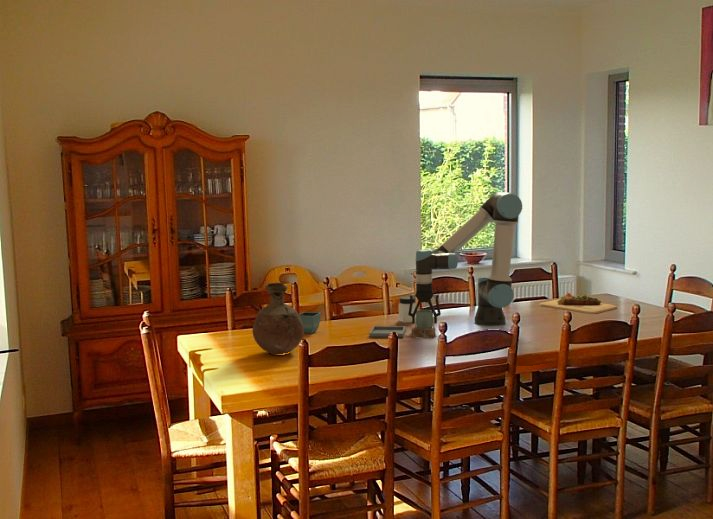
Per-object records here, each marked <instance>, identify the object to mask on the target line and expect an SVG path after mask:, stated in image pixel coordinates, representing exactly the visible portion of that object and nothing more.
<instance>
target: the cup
mask: <svg viewBox="0 0 713 519" xmlns="http://www.w3.org/2000/svg"><path fill="white" fill-rule="evenodd" d="M433 316H434V315H433V312H432V310H431V309H417V312H416V323H417V327H420V328H422V334H424V329H426V328H433Z"/></svg>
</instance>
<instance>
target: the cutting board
mask: <svg viewBox="0 0 713 519" xmlns="http://www.w3.org/2000/svg"><path fill="white" fill-rule="evenodd" d="M538 306H540V307H543V308H544V307H545V308H550V309H557V310H563V311H570V312H576V313H583V314H589V315H590V314H591V315H595V314H600V313H604V312H607V311H612V310H617V309H618V306H616V305H614V304H609V303H603V302H602V300H601V299H598V298H597V297H592V296H591V297H590V296H588V295H586V294H582V295H581V296H580V295H579V294H577V295H576V296H574V295H572V294H571V293H570V292H569V291H568V292H567V293H566V294H565V295H564V296H561V297H560V298H557V299H553V300H549V301H545V302H544V301H543V302H540V303H538Z"/></svg>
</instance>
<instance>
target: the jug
mask: <svg viewBox="0 0 713 519" xmlns="http://www.w3.org/2000/svg"><path fill="white" fill-rule="evenodd" d="M264 287H265V290H266V292H267V293H268V294H269V295H270V303H269V304H267V305H266V306H264V307H263V308H261V309H260V310H259V311H258V313H257V315H256V317H255V320H254V322H253V326H252V331H251V332H252V336H253V339H254V341H255V343H256V344H257V345H258V346H259V347H260V348H261V349H262V350H263V351H265V352H267V353H268V352H269V353H272V354H271V355H273V354H283V353H288V352H290V353H291V352H292V351H293V350H294V349H296V348H297V347H298V346H299V345H300V343H301V342H302V340H303V336H304V333H303V323H302V320H301V318H300V316H299V313H298V311H297V310H296V309H295V308H294V307H293V306H290V305H288V304H287V303H285V302H284V294H286V291H287V290H288V286H286V285H285V284H284V283H282V282H272V283H271V282H269V283H267V284H265V285H264ZM299 342H300V343H299ZM298 344H299V345H298ZM269 353H268V354H269Z"/></svg>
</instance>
